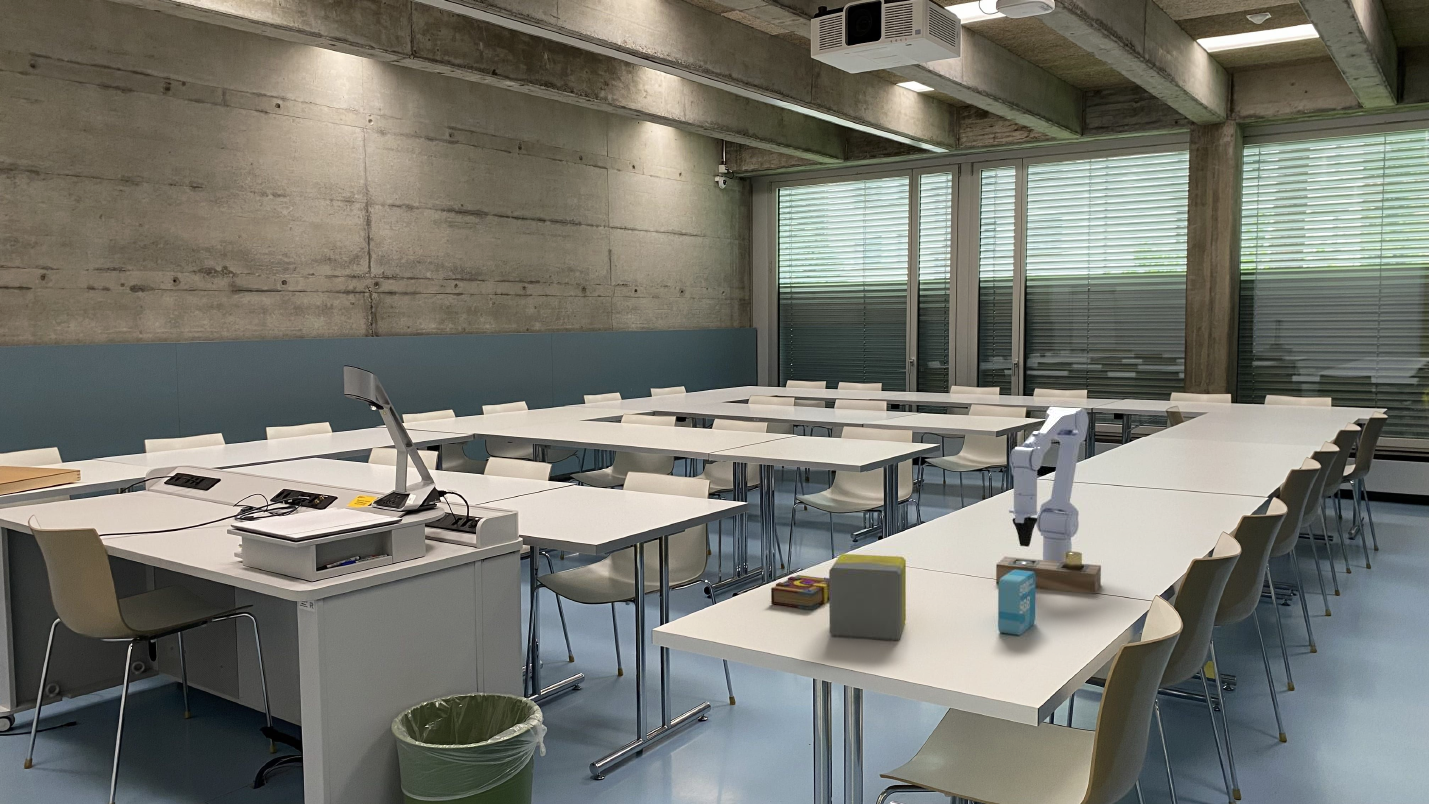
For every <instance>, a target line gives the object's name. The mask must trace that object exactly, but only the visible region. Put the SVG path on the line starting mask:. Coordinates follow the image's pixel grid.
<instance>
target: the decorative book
mask: <svg viewBox="0 0 1429 804" xmlns="http://www.w3.org/2000/svg"><path fill="white" fill-rule="evenodd" d="M770 590H771V593H770V599H771V601H770V603H771V604H772V605H777V606H784V607H785V606H786V607H793V608H797V609H801V610H806V611H807V610H808V611H814V610H816V609H817V608H819V607H820V606H821V605H825V604H828V601H829V577H816V576H809V575H799V574H798V575H797V574H796V575H795V576H790V577H787V579H786V580H785V581H783V582H780V581H779V582H777V583H775V586H772V587H771V588H770Z"/></svg>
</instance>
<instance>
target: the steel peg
mask: <svg viewBox="0 0 1429 804" xmlns="http://www.w3.org/2000/svg"><path fill="white" fill-rule="evenodd" d="M1016 564H1025V565H1033V563H1032V562H1030V561H1016Z"/></svg>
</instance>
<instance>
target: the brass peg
mask: <svg viewBox="0 0 1429 804" xmlns="http://www.w3.org/2000/svg"><path fill="white" fill-rule="evenodd" d="M1082 564H1083V553H1082V552H1079V551H1068V552H1064V568H1066V569H1076V570H1082Z"/></svg>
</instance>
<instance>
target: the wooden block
mask: <svg viewBox="0 0 1429 804" xmlns="http://www.w3.org/2000/svg"><path fill="white" fill-rule="evenodd" d="M1016 561H1030V562H1032V563H1033V565H1025V564H1016ZM995 569H996V571H995V572H996V573H995V583H996V584H998V585H999V580H1000V579H1001V578H1002V577H1003V576H1005V575H1007V574H1008V573H1010V572H1011V571H1013V570H1023V571H1032V572H1034V573H1035V576H1036V587H1035V589H1043V590H1054V591H1064V592H1073V593H1082V594H1090V595H1092V594H1093V595H1096V593H1097V591H1098V590H1099V588H1100V587H1101V586H1102V583H1101V582H1102V581H1101V578H1102V565H1099V564H1089V563H1082V570H1076V569H1066V568H1064V562H1059V561H1048V560H1043V559H1035V558H1027V557H1025V558H1024V557H1015V556H1014V557H1013V556H1004V557H1003V558H1002V559H1001V560H1000V561H998V562H997V563H996V567H995Z"/></svg>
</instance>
